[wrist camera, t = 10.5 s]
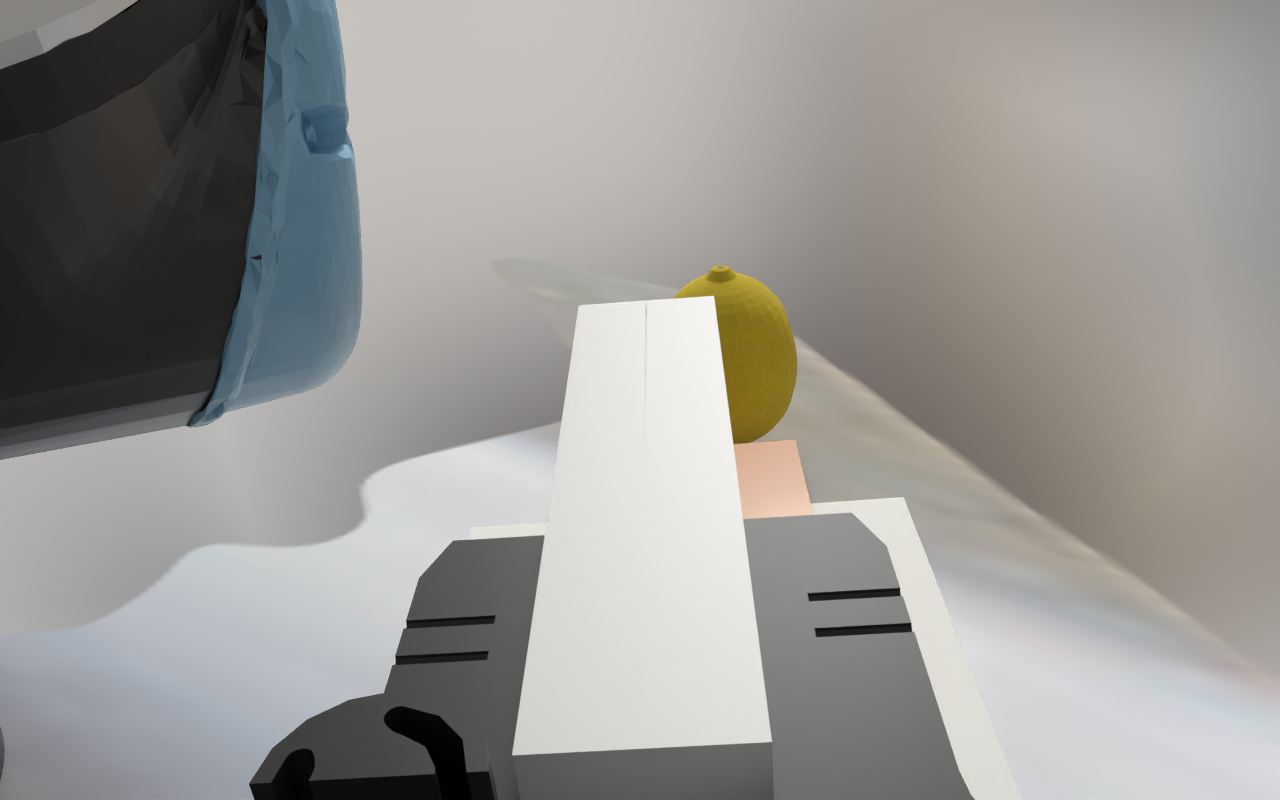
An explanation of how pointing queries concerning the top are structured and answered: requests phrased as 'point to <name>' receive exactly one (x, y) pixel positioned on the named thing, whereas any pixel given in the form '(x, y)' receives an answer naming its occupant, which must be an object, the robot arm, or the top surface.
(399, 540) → the top surface
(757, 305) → the lemon
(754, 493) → the block
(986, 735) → the mat
